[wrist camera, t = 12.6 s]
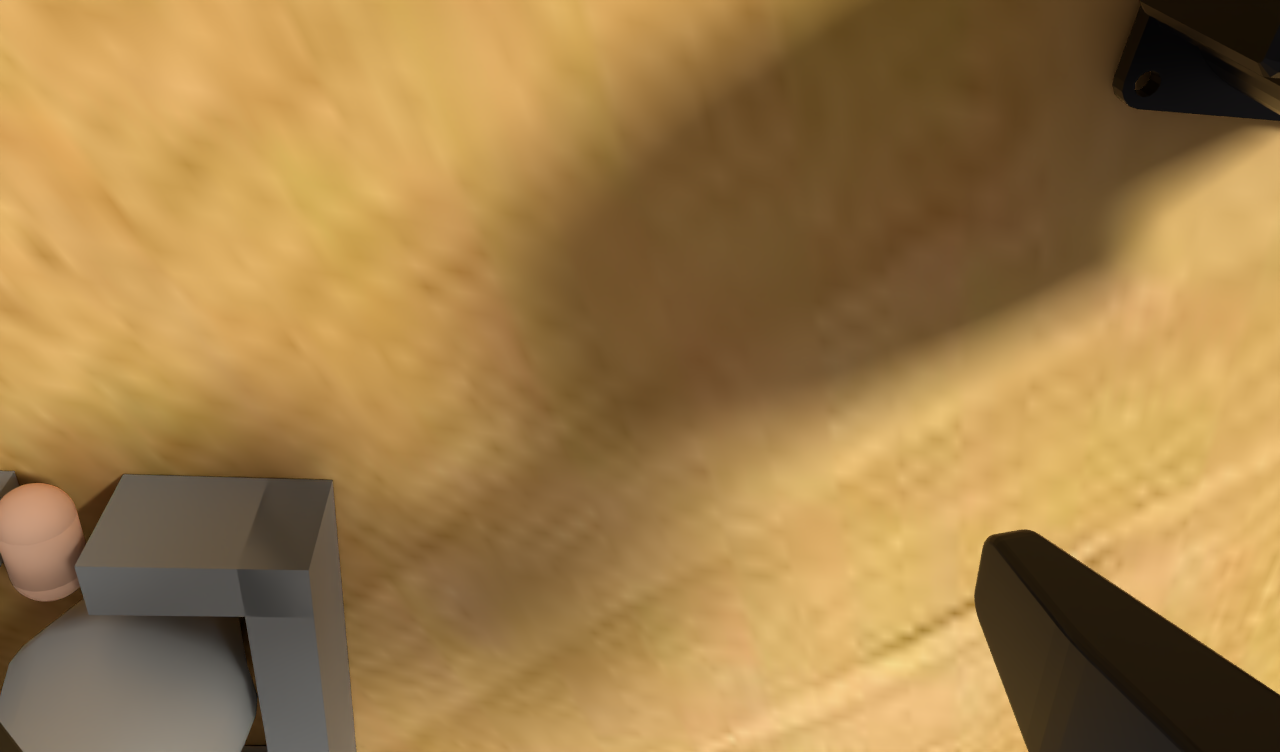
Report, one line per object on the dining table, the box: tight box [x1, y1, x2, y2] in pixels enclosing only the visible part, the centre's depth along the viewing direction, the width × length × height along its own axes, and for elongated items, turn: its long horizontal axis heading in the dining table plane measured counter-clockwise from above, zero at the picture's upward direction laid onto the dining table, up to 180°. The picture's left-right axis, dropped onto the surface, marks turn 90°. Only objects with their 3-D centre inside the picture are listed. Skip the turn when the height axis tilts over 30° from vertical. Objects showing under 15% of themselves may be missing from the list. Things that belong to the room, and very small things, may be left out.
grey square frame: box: [0, 471, 356, 752], centre depth 25 cm, size 12×12×3 cm
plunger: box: [0, 483, 86, 601], centre depth 22 cm, size 2×3×2 cm, turn 174°
